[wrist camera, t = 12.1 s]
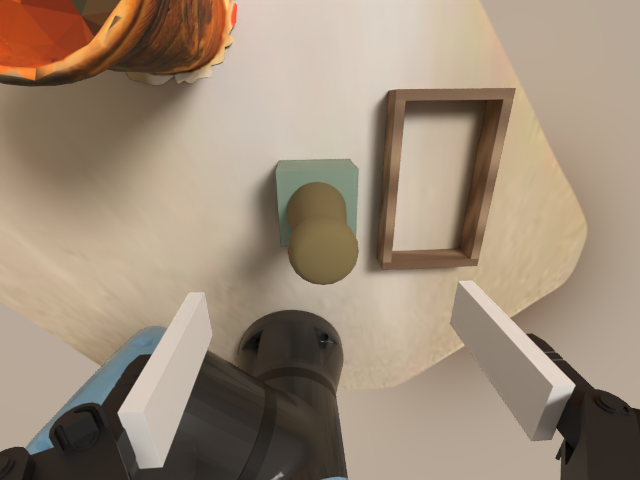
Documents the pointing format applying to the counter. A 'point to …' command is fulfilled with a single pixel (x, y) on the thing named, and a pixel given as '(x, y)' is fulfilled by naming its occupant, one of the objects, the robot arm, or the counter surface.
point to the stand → (308, 171)
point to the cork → (320, 234)
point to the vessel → (112, 39)
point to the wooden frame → (480, 187)
